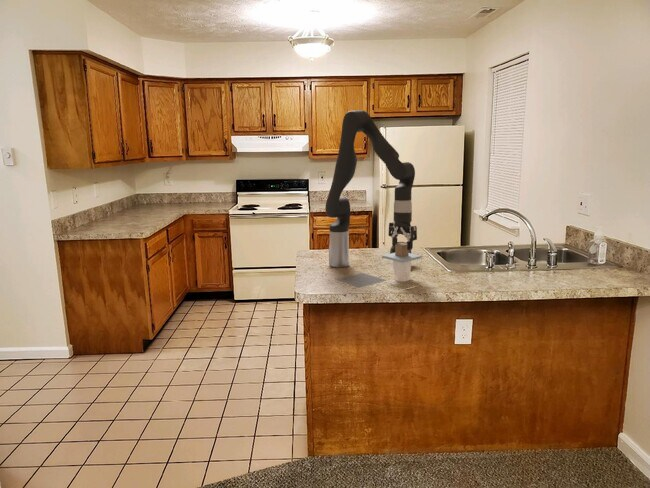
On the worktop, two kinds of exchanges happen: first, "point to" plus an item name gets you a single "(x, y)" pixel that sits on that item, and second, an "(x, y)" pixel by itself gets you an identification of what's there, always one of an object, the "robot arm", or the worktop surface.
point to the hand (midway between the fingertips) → (402, 248)
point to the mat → (360, 280)
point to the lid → (401, 254)
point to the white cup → (401, 270)
